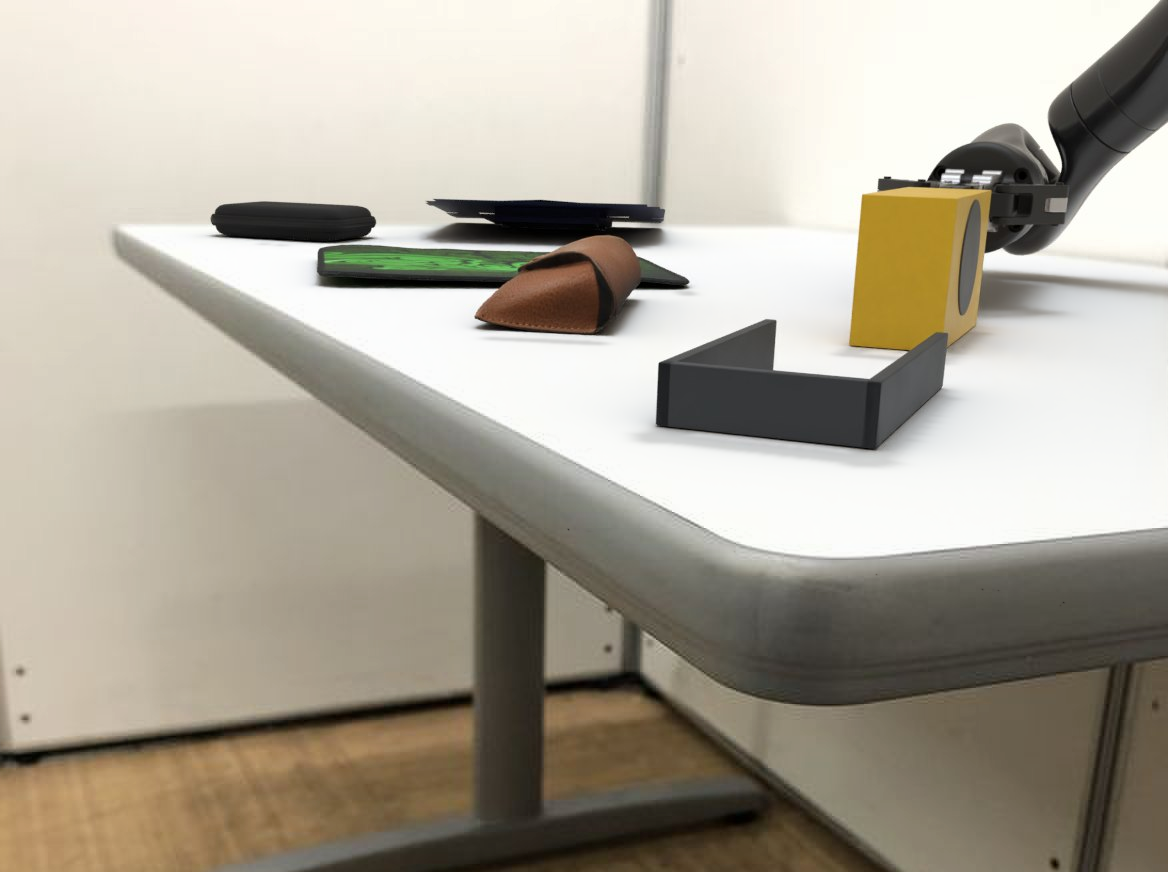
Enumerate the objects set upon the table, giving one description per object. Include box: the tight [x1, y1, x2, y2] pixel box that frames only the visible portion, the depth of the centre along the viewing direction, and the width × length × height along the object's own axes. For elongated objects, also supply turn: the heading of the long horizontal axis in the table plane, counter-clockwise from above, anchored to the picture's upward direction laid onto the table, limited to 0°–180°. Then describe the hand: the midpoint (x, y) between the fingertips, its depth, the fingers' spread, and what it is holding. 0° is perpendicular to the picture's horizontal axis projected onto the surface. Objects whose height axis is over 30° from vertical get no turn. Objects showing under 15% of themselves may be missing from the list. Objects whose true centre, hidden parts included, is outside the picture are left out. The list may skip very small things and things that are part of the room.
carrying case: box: [209, 200, 377, 242], centre depth 139 cm, size 11×3×15 cm
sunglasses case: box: [473, 234, 641, 335], centre depth 87 cm, size 18×7×7 cm
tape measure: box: [848, 187, 992, 351], centre depth 81 cm, size 13×5×8 cm, turn 157°
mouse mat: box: [316, 244, 691, 286], centre depth 110 cm, size 27×22×1 cm
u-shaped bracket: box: [655, 318, 948, 450], centre depth 60 cm, size 15×9×2 cm, turn 157°
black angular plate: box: [425, 198, 666, 239], centre depth 149 cm, size 24×30×4 cm
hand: (948, 205), depth 86 cm, fingers closed
